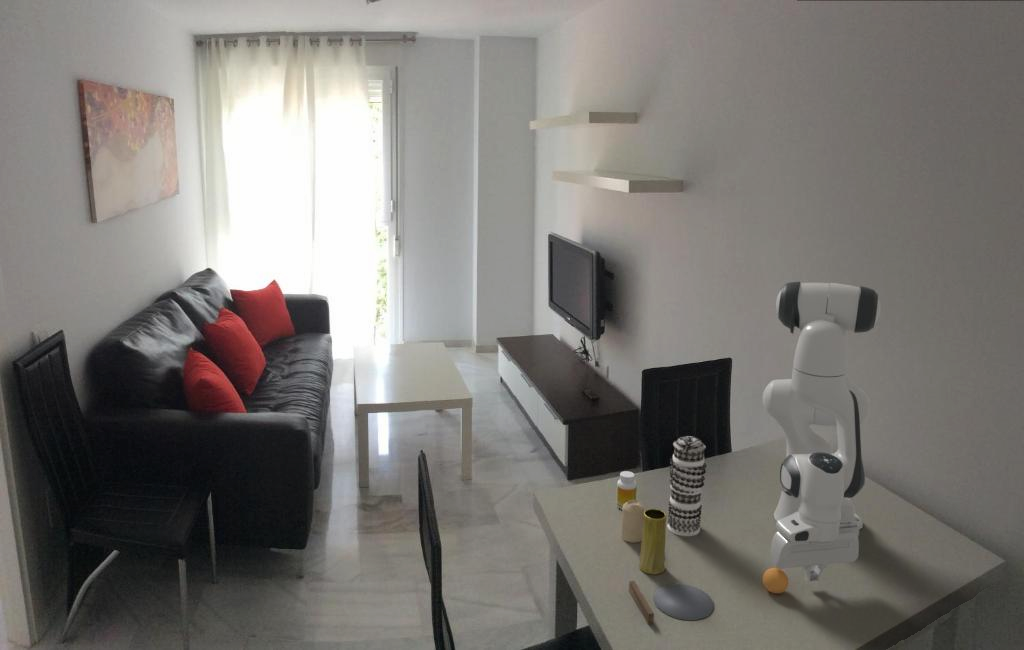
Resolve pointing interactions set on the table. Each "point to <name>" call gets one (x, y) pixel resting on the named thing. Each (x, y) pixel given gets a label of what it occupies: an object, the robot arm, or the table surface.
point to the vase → (653, 542)
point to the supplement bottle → (626, 488)
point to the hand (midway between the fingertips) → (811, 579)
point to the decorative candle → (686, 486)
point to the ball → (775, 580)
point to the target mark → (683, 602)
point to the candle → (632, 521)
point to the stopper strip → (641, 602)
